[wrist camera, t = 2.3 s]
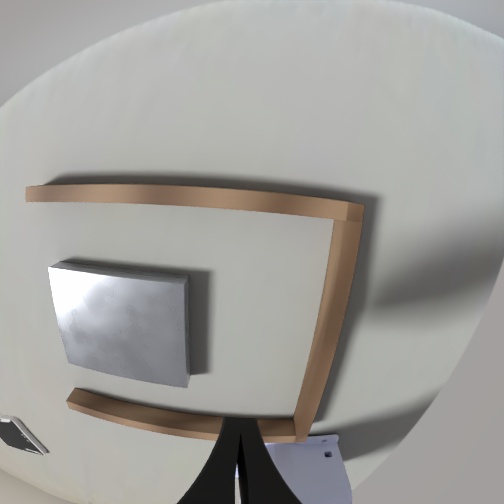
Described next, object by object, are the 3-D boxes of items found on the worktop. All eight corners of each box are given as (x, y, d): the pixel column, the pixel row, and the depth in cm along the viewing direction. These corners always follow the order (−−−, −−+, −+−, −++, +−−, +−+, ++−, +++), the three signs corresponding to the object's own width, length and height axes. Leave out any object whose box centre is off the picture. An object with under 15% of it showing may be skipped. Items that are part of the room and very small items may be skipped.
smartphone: (-19, 414, 22) (13, 420, 21) (-16, 410, 23) (17, 414, 22) (7, 445, 24) (46, 456, 23) (10, 440, 25) (49, 450, 24)
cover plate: (190, 272, 18) (184, 284, 16) (191, 371, 20) (187, 388, 18) (63, 259, 17) (48, 267, 15) (79, 350, 19) (68, 363, 17)
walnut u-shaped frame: (351, 201, 16) (364, 204, 14) (301, 425, 21) (305, 442, 19) (42, 185, 15) (25, 186, 13) (77, 395, 20) (69, 408, 18)
